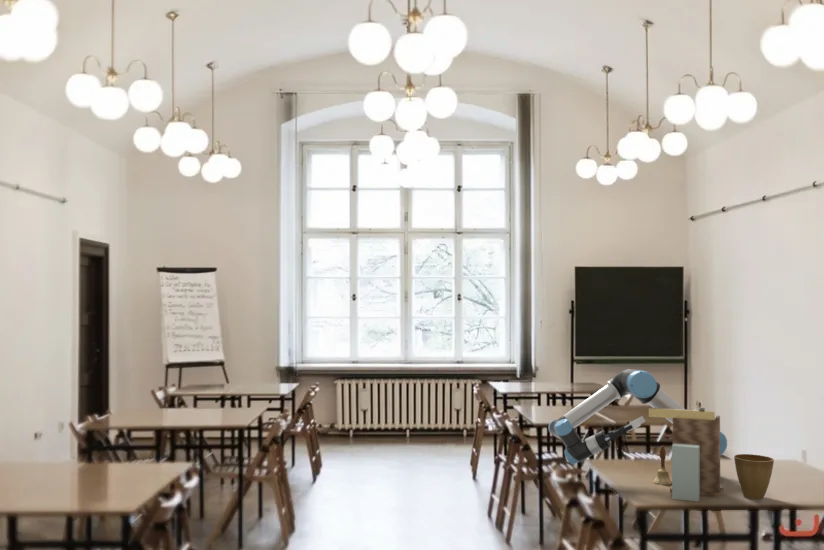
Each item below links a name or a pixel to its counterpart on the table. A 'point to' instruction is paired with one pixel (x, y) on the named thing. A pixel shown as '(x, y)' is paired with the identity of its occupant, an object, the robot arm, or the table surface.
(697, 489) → the grey block
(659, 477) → the hand bell
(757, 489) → the plant pot
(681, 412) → the brass bar
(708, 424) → the walnut stand
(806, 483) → the table surface
